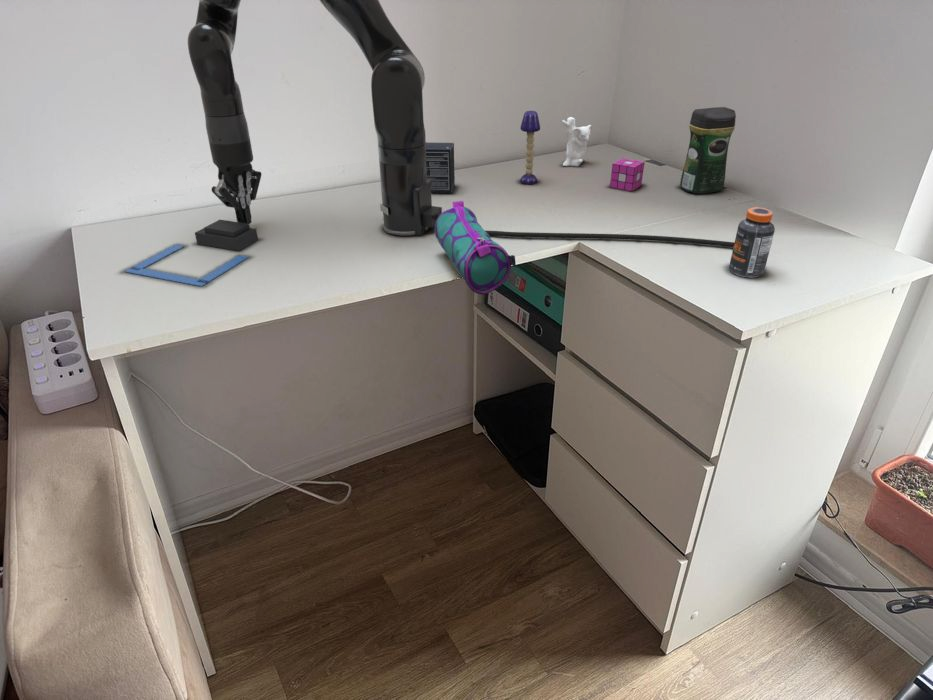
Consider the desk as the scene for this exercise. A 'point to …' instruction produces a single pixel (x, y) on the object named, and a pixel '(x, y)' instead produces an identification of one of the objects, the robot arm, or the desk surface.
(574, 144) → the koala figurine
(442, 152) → the small box
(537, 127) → the toy lamp
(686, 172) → the coffee jar
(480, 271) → the pencil case
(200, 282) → the frame
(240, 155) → the robot arm
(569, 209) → the desk surface
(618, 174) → the puzzle toy
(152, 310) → the desk surface
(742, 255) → the pill bottle
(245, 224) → the dark raised-panel slab
